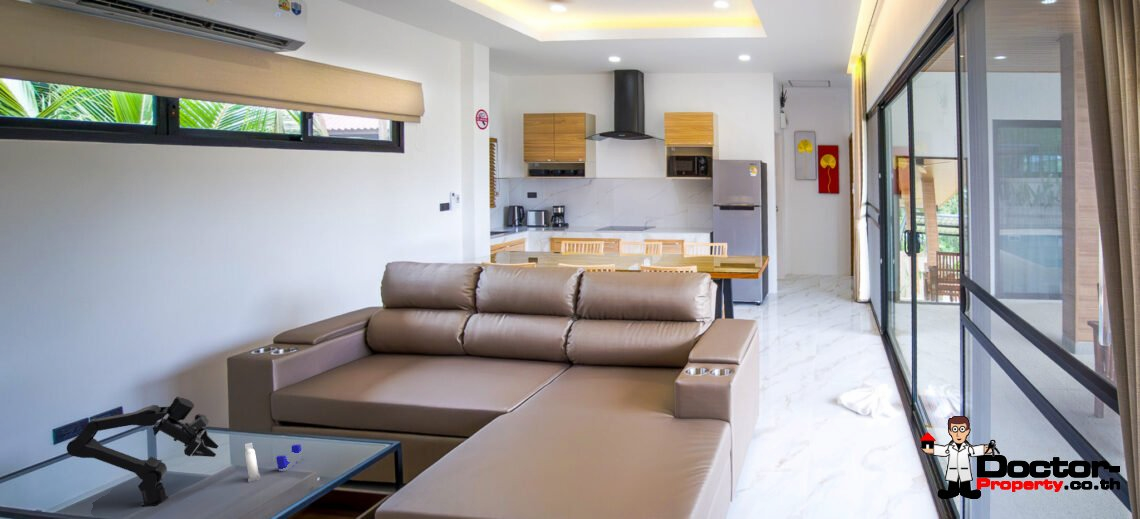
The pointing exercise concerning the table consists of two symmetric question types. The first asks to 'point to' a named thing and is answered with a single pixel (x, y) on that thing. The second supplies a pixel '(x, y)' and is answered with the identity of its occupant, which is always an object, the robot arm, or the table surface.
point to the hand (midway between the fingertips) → (216, 451)
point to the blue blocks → (282, 460)
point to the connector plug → (251, 463)
